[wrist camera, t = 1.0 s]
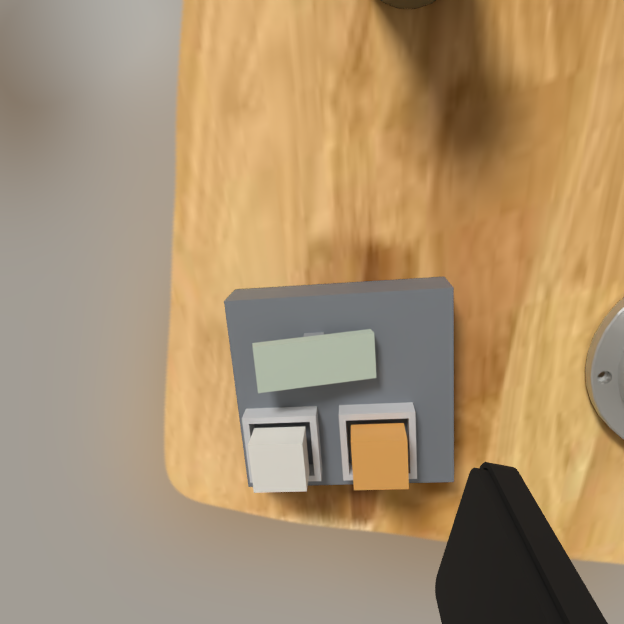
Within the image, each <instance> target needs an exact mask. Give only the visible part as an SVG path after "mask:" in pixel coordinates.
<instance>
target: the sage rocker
mask: <svg viewBox="0 0 624 624" xmlns="http://www.w3.org/2000/svg"><path fill="white" fill-rule="evenodd" d="M252 346H253V355H254V363H255V372H256V380H257V389H258V393H264V392H272V391H280V390H287V389H295V388H303V387H310V386H318V385H326V384H333V383H341V382H349V381H356V380H364V379H372V378H376V359H375V339H374V332H373V331H372V330H371V329H366V330H358V331H350V332H341V333H333V334H324V335H316V336H308V337H299V338H291V339H282V340H274V341H266V342H257V343H252Z"/></svg>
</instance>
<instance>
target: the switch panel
mask: <svg viewBox="0 0 624 624" xmlns="http://www.w3.org/2000/svg"><path fill="white" fill-rule="evenodd" d="M224 304H225V312H226V319H227V327H228V335H229V342H230V350H231V357H232V365H233V372H234V380H235V387H236V395H237V403H238V410H239V418H240V425H241V433H242V440H243V448H244V456H245V463H246V471H247V478H248V486H249V487H253V482H252V474H251V466H250V459H249V451H248V443H249V441H250V438H251V435H252V433H253V430H254V428H273V427H302V426H305V428H306V439H307V450H308V461H309V471H310V472H309V479H308V485H345V484H353V469H352V453H351V425H359V424H388V423H404V426H405V431H406V436H407V443H408V475H409V483H430V482H454V316H453V287H452V285H451V284H450V283H449V282H448V281H447V279H446V278H445V277H431V278H415V279H399V280H382V281H366V282H350V283H334V284H317V285H301V286H285V287H268V288H252V289H236V290H234V291H233V292H232V293H231V294H230V295H229V297H228V298H227V299H226V300H225V301H224ZM366 329H371V330H372V331H373V332H374V339H375V359H376V378H372V379H364V380H356V381H349V382H341V383H333V384H326V385H318V386H310V387H303V388H295V389H287V390H280V391H272V392H264V393H258V389H257V380H256V372H255V363H254V355H253V346H252V343H257V342H266V341H274V340H282V339H291V338H299V337H308V336H316V335H324V334H333V333H341V332H350V331H358V330H366Z"/></svg>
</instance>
